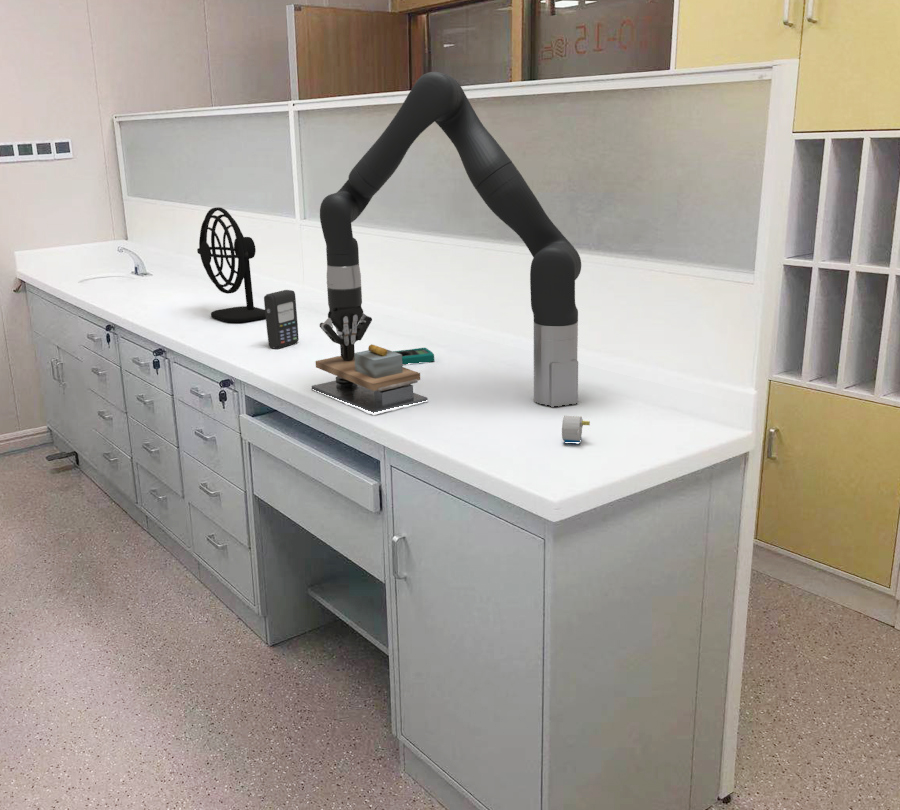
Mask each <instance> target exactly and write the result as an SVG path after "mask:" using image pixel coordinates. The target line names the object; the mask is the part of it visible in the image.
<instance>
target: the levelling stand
mask: <svg viewBox="0 0 900 810" xmlns="http://www.w3.org/2000/svg"><path fill="white" fill-rule="evenodd" d="M310 386H311V390H312V389H314V390H316V391H319V392H321V393H324V394H326V395H329V396H332V397H334V398H337V399H339V400H342V401H344V402H347V403H350V404H352V405H355V406H358V407H361V408H363V409H365V410H368V411H371V412H373V413H374V412H378V411H382V410H386V409H390V408H394V407H399V406H403V405H409V404H413V403H418V402H422V401H426V400H428V397H426V396H424V395H421V394H420V393H419V394H418V393H415V392H414V385H413V384H409V385H405V386H401V387H397V388H392V389H388V390H384V391H380V392H377V390H376V391H372V390H370V389H368V388H365V387H363V386H360V385H358V384H355V383H353V382H350V381H348V380H346V379H343V378H341V377H338V376H336V377H335V380H333V381H332V380H331V381H327V382H324V383H323V382H322V383H318V384H314V385H310Z"/></svg>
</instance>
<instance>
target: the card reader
mask: <svg viewBox="0 0 900 810" xmlns="http://www.w3.org/2000/svg"><path fill="white" fill-rule="evenodd" d="M296 299H297V298H296V292H295V291H294V290H293V289H292V290H291V289H284V290H279V291H275V292H271V293H266V294H265V295H264V297H263V301H264V303H263V304H264V305H263V306H264V310H265V315H266V318H265V323H266V333H267V341H268V347H270V348H271V349H281V348H285V347H288V346H291V345H294V344H297V343H298V342H299V327H298V314H297V300H296Z"/></svg>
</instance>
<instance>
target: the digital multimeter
mask: <svg viewBox="0 0 900 810" xmlns="http://www.w3.org/2000/svg"><path fill="white" fill-rule="evenodd" d="M392 351H393V352H396V353H399V354H402V364H408V363H419V362H429V363H432V362H431V361H434V362H435V354H434V353H433V351H431V350H429V348H428V347H418V348H417V347H416V348H411V349H403V350H395V351H394V350H392ZM419 364H420V363H419Z"/></svg>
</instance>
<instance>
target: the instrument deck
mask: <svg viewBox="0 0 900 810" xmlns="http://www.w3.org/2000/svg"><path fill="white" fill-rule="evenodd" d="M393 351H394V350H390V349H387V348H385V347H381V346H378V345H375V344H370V345H368V348H367V350H363V351H357V352H354V357H353V360H351V361H345V360H343V358H342V357H341V355H338V356H332V357H330V358H323V359H319V360H318V359H317V360H315V368H317V369H319V370H321V371H324V372H327V373H329V374H331V375H334V376H336V377H337V376H338V377H341V378H343V379H346V380H348V381H350V382H353V383H355V384H358V385H360V386H363V387H365V388H368V389H370V390H372V391H376V390H377V392H380V391H384V390H388V389H392V388H397V387H401V386H405V385H409V384H411V385H413V384H416V383H419V381H421V373H420V372H418V371H414V370H413V369H410V368H406V367H404V366H403V365H402V354H399V353H396V352H393Z"/></svg>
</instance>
